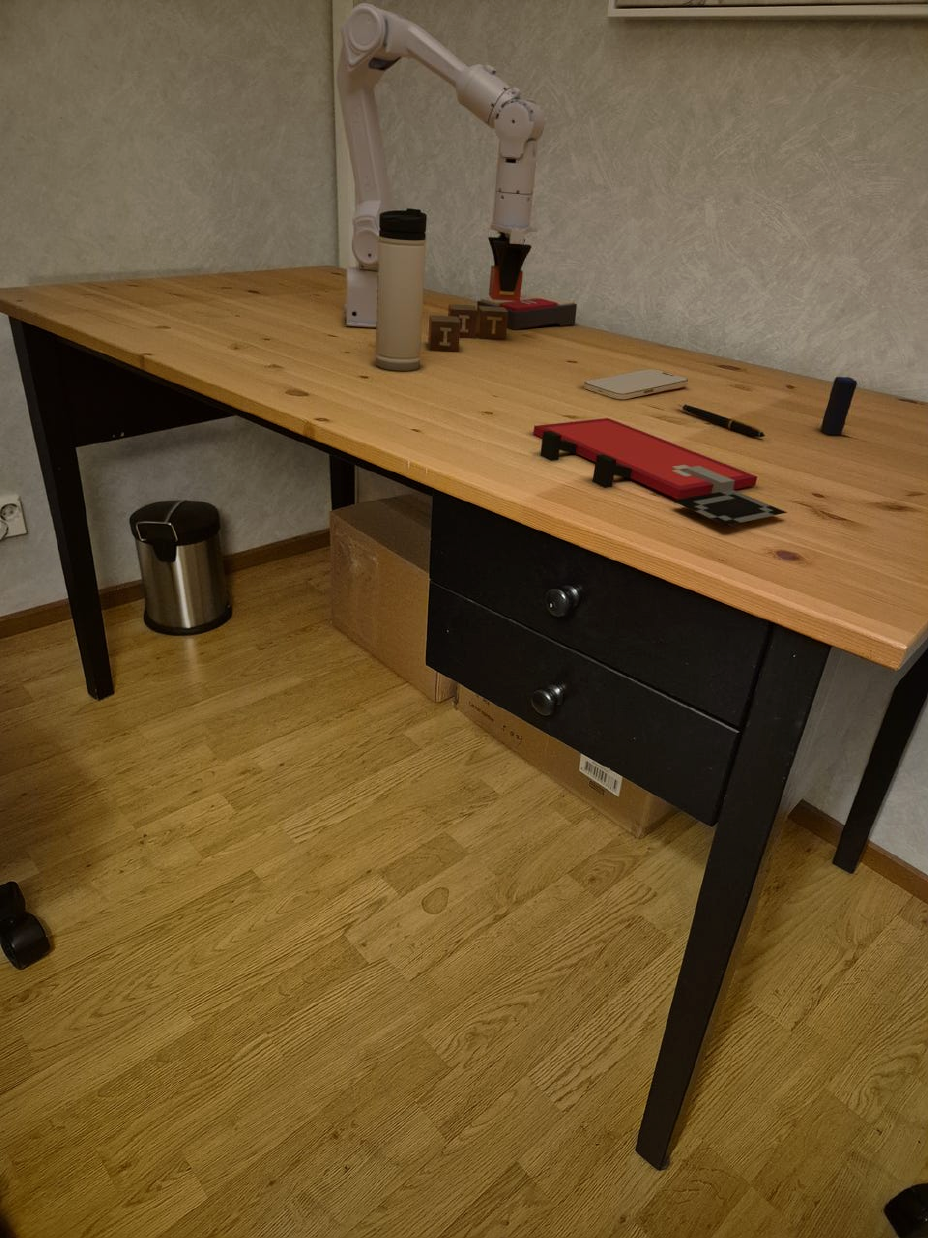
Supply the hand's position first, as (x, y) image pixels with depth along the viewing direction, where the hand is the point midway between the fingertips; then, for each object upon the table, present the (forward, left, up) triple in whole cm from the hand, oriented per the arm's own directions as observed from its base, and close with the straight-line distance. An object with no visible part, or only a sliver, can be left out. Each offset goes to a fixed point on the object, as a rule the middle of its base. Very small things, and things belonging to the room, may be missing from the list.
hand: (505, 288), depth 136 cm
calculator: (+8, +20, -9) cm, 23 cm away
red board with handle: (+7, -60, -9) cm, 61 cm away
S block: (0, 0, -1) cm, 1 cm away
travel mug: (-17, -19, -9) cm, 27 cm away
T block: (-1, +5, -8) cm, 10 cm away
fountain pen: (+21, -41, -9) cm, 47 cm away
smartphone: (+16, -25, -9) cm, 31 cm away
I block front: (-10, -6, -8) cm, 14 cm away
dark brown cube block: (-6, +5, -8) cm, 11 cm away
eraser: (+36, -43, -9) cm, 56 cm away
